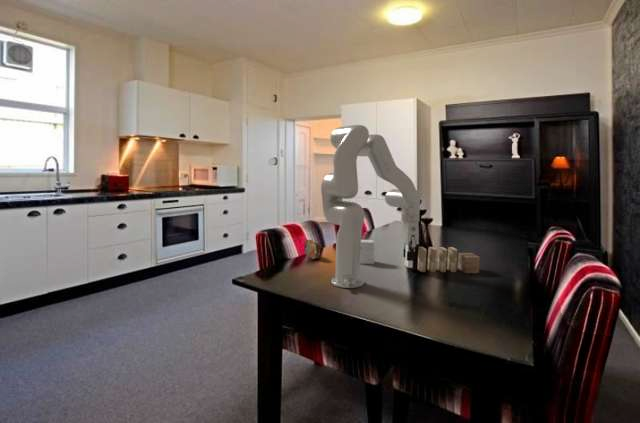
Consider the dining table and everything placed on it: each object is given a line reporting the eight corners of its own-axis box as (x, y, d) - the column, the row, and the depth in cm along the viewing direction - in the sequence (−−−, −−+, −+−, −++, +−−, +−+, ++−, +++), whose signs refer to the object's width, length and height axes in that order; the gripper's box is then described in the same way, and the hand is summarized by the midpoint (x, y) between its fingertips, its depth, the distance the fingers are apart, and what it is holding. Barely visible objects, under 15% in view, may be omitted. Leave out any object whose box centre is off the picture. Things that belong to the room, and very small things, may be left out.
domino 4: (441, 268, 164) (442, 247, 163) (445, 271, 159) (447, 249, 158) (437, 268, 164) (438, 247, 162) (441, 271, 159) (442, 249, 157)
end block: (478, 273, 158) (479, 257, 157) (465, 272, 158) (466, 257, 157) (470, 268, 166) (471, 253, 165) (457, 267, 165) (458, 252, 165)
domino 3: (431, 268, 164) (432, 247, 162) (435, 271, 159) (436, 249, 157) (427, 268, 163) (428, 246, 162) (431, 271, 158) (432, 249, 157)
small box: (373, 261, 175) (374, 239, 174) (373, 264, 170) (374, 242, 168) (356, 260, 176) (357, 239, 175) (356, 263, 171) (357, 241, 169)
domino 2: (421, 268, 163) (422, 246, 162) (425, 271, 158) (426, 249, 157) (417, 268, 163) (418, 246, 162) (420, 271, 158) (422, 249, 157)
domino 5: (451, 268, 164) (452, 247, 163) (455, 272, 159) (457, 249, 158) (447, 268, 164) (448, 247, 163) (451, 272, 159) (452, 249, 158)
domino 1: (409, 264, 163) (410, 242, 162) (412, 267, 158) (413, 245, 157) (404, 264, 163) (405, 242, 162) (407, 267, 158) (408, 245, 157)
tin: (303, 254, 188) (303, 238, 187) (309, 253, 189) (309, 237, 188) (315, 261, 174) (315, 243, 173) (321, 260, 176) (321, 243, 175)
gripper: (425, 220, 150) (423, 263, 152) (413, 215, 167) (411, 254, 169) (407, 220, 149) (405, 263, 152) (397, 215, 166) (395, 254, 168)
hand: (408, 258), depth 160 cm, fingers closed on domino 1, 4 cm apart
